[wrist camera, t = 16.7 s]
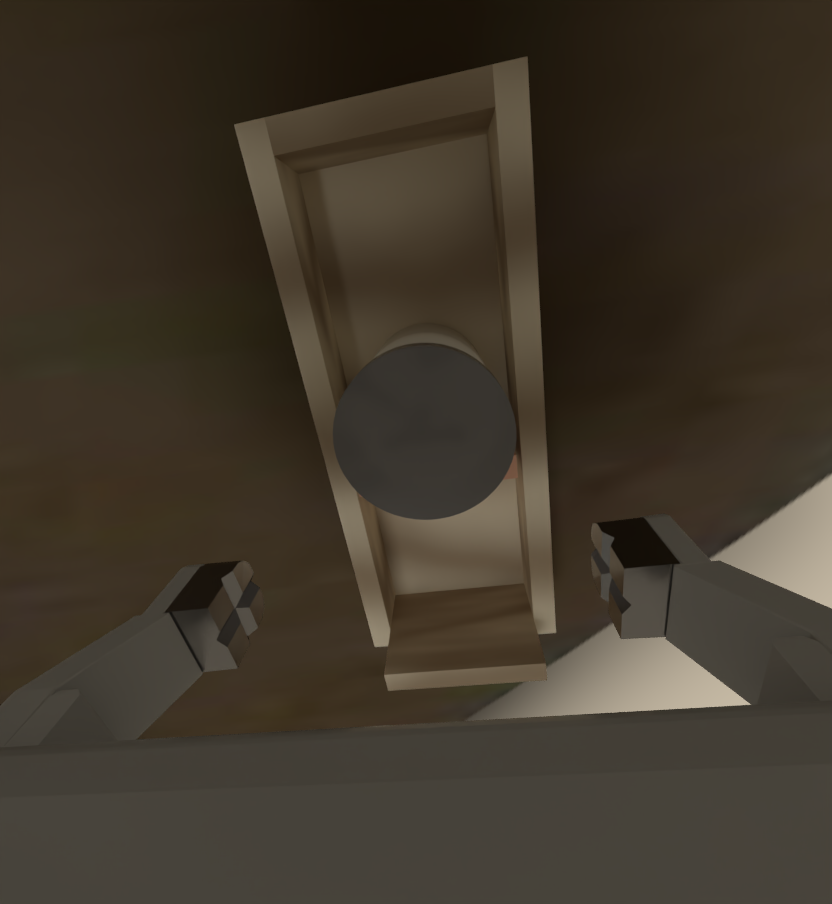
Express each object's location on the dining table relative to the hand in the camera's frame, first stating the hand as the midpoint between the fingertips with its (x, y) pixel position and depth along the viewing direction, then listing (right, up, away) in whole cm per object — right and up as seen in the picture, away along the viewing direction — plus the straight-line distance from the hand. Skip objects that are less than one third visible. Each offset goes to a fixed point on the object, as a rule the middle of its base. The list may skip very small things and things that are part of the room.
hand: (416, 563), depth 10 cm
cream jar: (0, +6, +8) cm, 10 cm away
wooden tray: (+1, +5, +10) cm, 11 cm away
